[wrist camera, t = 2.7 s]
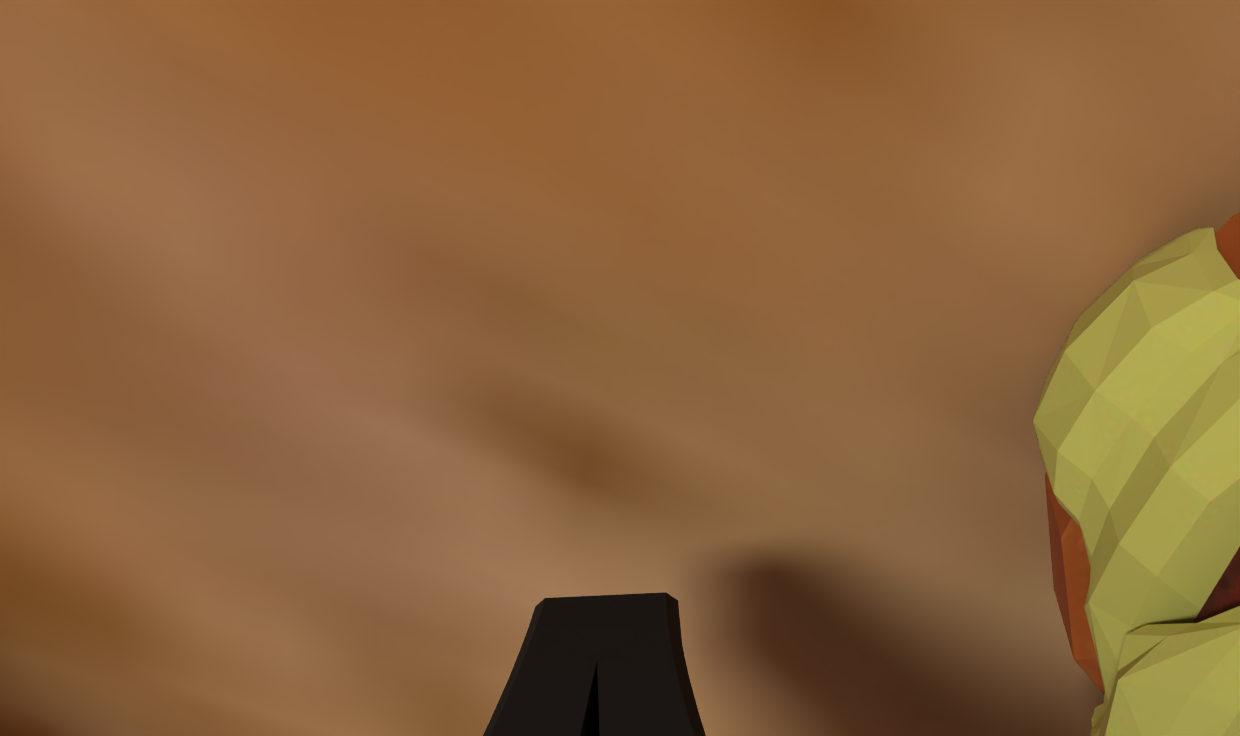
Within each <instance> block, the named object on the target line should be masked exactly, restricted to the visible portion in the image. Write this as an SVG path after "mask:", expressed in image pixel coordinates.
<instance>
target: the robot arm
mask: <svg viewBox="0 0 1240 736" xmlns="http://www.w3.org/2000/svg"><path fill="white" fill-rule="evenodd" d="M483 736H706V735H705V732H704V729H703V726H702V722H701V719H700V716H699V712H698V709H697V705H696V701H695V698H694V694H693V690H692V687H691V683H690V679H689V675H688V671H687V666H686V662H685V657H684V652H683V647H682V639H681V628H680V618H679V608H678V600H676V599H675V598H673V597H672V596H670V595H669V594H667V593H646V594H624V595H603V596H581V597H560V598H545V599H544V600H543V601H541V602H540V603H539V604H538V605H537V606H536V607H535V610H534V613H533V616H532V619H531V622H530V625H529V628H528V631H527V634H526V636H525V639H524V642H523V644H522V647H521V650H520V652H519V655H518V657H517V660H516V662H515V665H514V667H513V670H512V672H511V674H510V677H509V679H508V682H507V684H506V686H505V689H504V691H503V693H502V695H501V698H500V700H499V702H498V704H497V707H496V709H495V711H494V713H493V716H492V718H491V720H490V722H489V724H488V726H487V728H486V731H485V733H484V735H483Z"/></svg>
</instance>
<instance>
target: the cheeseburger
mask: <svg viewBox="0 0 1240 736" xmlns="http://www.w3.org/2000/svg"><path fill="white" fill-rule="evenodd" d="M1033 423H1034V427H1035V431H1036V436H1037V440H1038V444H1039V448H1040V452H1041V456H1042V459H1043V462H1044V465H1045V468H1046V471H1047V472H1046V474H1045V482H1046V495H1047V507H1048V520H1049V533H1050V545H1051V558H1052V571H1053V583H1054V590H1055V594H1056V597H1057V601H1058V604H1059V608H1060V611H1061V615H1062V618H1063V622H1064V625H1065V629H1066V633H1067V636H1068V640H1069V643H1070V647H1071V650H1072V654H1073V657H1074V660H1075V661H1076V662H1077V663H1078V665H1079V666H1080V667H1081V668H1082V669H1083V670H1084V671H1085V673H1086V674H1087V675H1088V676H1089V677H1090V678H1091V679H1092V681H1093V682H1094V683H1095V684H1096V685H1097V686H1098V687H1099V688H1100V690H1101V691H1102V692H1103V693H1104V701H1103V704H1101V705H1099V706H1097V707H1095V709H1094V712H1093V716H1092V719H1091V723H1092V729H1091V733H1090V736H1240V213H1238V214H1236V215H1234V216H1233V217H1232V218H1231V219H1230V220H1229V221H1228V222H1227V223H1226V224H1225V225H1224V226H1223V227H1222V228H1221V229H1220V230H1219V231H1218V232H1217V233H1216V234H1214V228H1213V227H1209V228H1198V229H1196V230H1193V231H1191V232H1189V233H1186V234H1184V235H1182V236H1180V237H1177V238H1176V239H1174V240H1172V241H1171V242H1169V243H1167V244H1165V245H1164V246H1162V247H1160V248H1159V249H1157V250H1155V251H1154V252H1152V253H1150V254H1149V255H1147V256H1145V257H1144V258H1142V259H1140V260H1138V261H1137V262H1136V263H1135V264H1134V265H1133V266H1131V267H1130V268H1129V269H1128V270H1127V271H1126V272H1125V273H1124V274H1123V275H1122V276H1121V277H1120V278H1119V279H1118V280H1117V281H1116V282H1115V283H1114V284H1113V285H1112V286H1110V287H1109V288H1108V289H1107V290H1106V291H1105V292H1104V293H1103V294H1102V295H1101V296H1100V297H1099V298H1098V299H1097V300H1096V301H1095V302H1094V303H1093V304H1092V305H1091V306H1089V307H1088V308H1087V309H1086V310H1085V311H1084V312H1083V313H1082V314H1081V315H1080V317H1079V318H1078V320H1077V321H1076V323H1075V324H1074V326H1073V328H1072V330H1071V332H1070V334H1069V336H1068V338H1067V340H1066V342H1065V344H1064V346H1063V348H1062V350H1061V352H1060V354H1059V356H1058V357H1057V359H1056V361H1055V363H1054V365H1053V367H1052V368H1051V370H1050V372H1049V374H1048V376H1047V379H1046V381H1045V384H1044V386H1043V389H1042V393H1041V396H1040V399H1039V403H1038V406H1037V409H1036V412H1035V416H1034V419H1033Z"/></svg>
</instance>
